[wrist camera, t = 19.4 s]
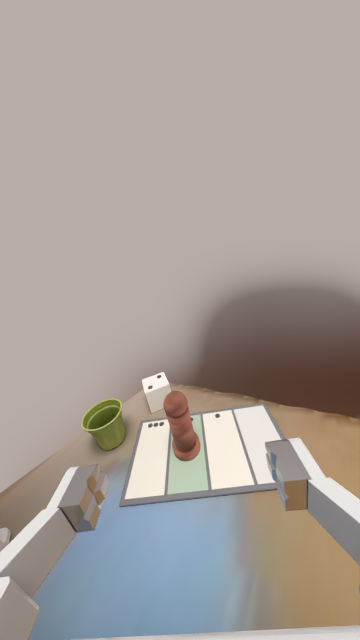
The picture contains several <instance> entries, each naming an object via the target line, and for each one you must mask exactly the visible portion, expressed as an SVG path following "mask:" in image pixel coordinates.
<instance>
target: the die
mask: <svg viewBox="0 0 360 640" xmlns="http://www.w3.org/2000/svg"><path fill="white" fill-rule="evenodd" d="M142 383H143V387H144V391H145V395H146V398H147V401H148V404H149V407H150V410H151V414H152V413H154V412H156V411H159V410H161V409H163V408H164V406H163V403H164V399H165V397H166V396H167V394H169V393H170V392H171V389H170V385H169V383H168V380H167V378H166V376H165V374H164V372H162V373H159V374H157V375H154V376H151V377H148V378H146V379H143V380H142Z"/></svg>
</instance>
